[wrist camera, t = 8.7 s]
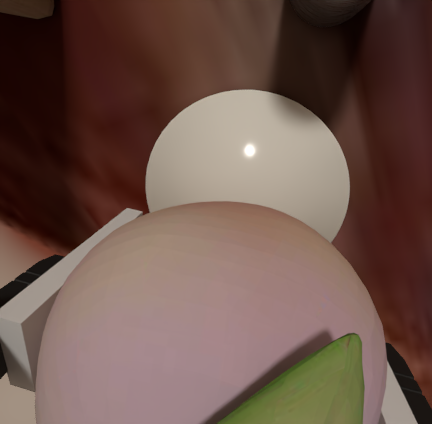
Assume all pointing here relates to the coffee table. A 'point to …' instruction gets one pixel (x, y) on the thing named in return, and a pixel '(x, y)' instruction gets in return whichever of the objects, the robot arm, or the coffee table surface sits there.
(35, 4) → the block
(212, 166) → the cream plate
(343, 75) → the coffee table surface
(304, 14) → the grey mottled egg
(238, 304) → the decorative fruit
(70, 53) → the coffee table surface
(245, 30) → the coffee table surface
